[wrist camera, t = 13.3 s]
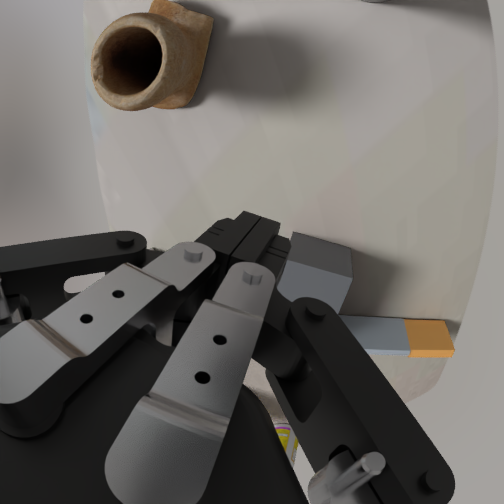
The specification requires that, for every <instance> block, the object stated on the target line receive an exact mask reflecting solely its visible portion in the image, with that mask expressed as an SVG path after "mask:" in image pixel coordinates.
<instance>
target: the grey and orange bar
mask: <svg viewBox="0 0 504 504" xmlns="http://www.w3.org/2000/svg"><path fill="white" fill-rule="evenodd" d="M339 317H340V318H341V319H342V321H343V322H344V323H345V325H346V326H347V327H348V329H349V330H350V331H351V332H352V334H353V335H354V336H355V338H356V339H357V340H358V342H359V343H360V344H361V346H362V347H363V348H364V350H365V351H366V352H367V354H377V355H408V357H452V355H453V353H454V351H455V349H454V346H453V343H452V340H451V337H450V334H449V332H448V329H447V326H446V324H445V321H439V320H408V319H402V318H381V317H363V316H347V315H339Z"/></svg>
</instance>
